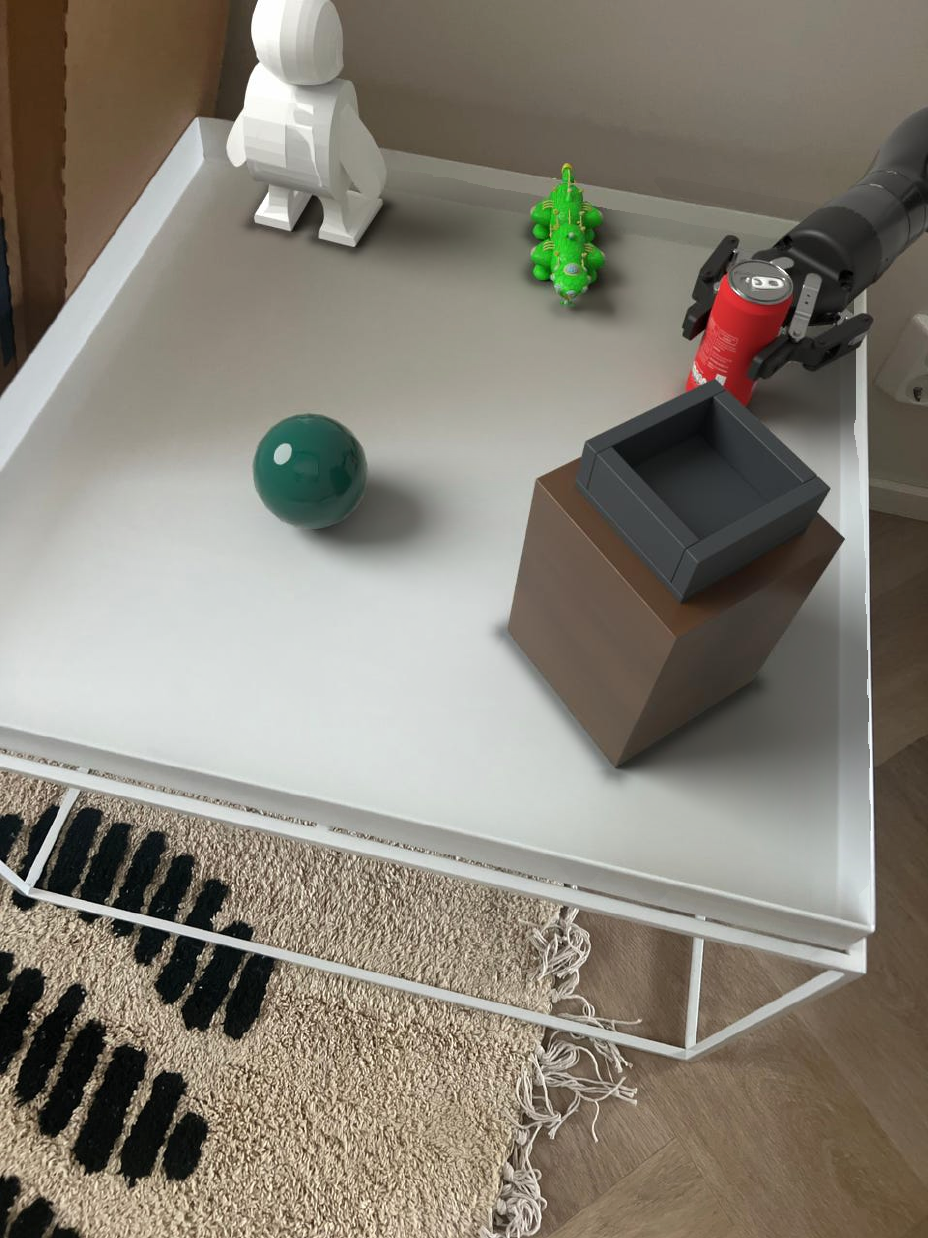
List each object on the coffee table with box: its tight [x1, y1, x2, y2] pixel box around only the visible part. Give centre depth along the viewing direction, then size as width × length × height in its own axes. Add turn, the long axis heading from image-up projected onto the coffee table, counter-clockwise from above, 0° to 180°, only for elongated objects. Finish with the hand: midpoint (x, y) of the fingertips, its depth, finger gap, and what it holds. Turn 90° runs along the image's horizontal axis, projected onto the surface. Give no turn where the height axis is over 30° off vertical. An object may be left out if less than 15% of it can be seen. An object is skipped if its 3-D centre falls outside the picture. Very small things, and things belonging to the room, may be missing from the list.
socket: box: [574, 379, 831, 604], centre depth 51 cm, size 9×9×4 cm
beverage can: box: [685, 260, 793, 408], centre depth 75 cm, size 5×5×12 cm
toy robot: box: [225, 0, 387, 248], centre depth 80 cm, size 14×9×20 cm, turn 73°
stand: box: [506, 456, 846, 769], centre depth 60 cm, size 12×12×16 cm
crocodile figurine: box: [529, 162, 607, 307], centre depth 87 cm, size 7×18×4 cm, turn 178°
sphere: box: [251, 412, 369, 530], centre depth 68 cm, size 8×8×8 cm
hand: (721, 349), depth 73 cm, fingers open, 5 cm apart
